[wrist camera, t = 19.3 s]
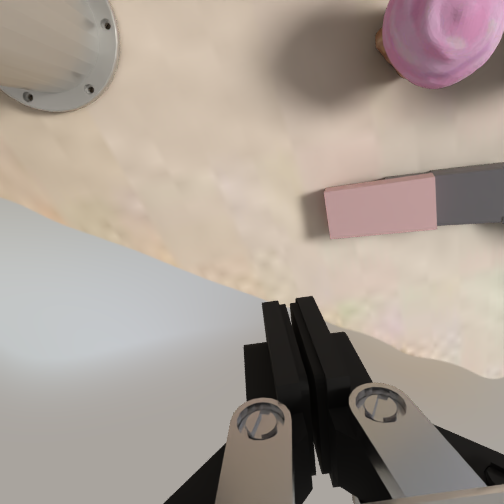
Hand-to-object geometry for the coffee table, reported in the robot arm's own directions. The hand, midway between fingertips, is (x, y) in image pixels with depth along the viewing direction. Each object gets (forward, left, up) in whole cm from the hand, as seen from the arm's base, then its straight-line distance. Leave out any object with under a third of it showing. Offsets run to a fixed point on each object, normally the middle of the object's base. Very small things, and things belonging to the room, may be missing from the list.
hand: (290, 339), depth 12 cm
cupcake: (+16, +12, -27) cm, 34 cm away
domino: (+14, -3, -26) cm, 30 cm away
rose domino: (+8, -3, -26) cm, 28 cm away
